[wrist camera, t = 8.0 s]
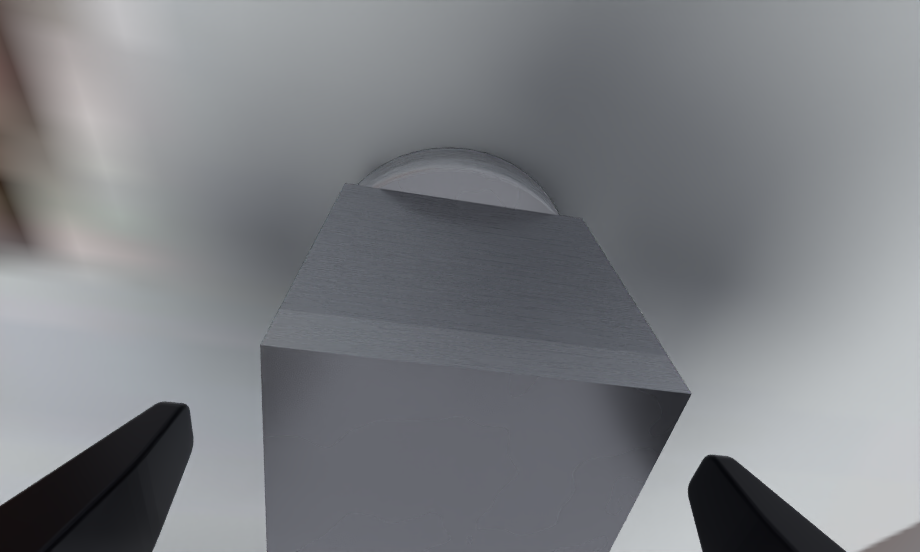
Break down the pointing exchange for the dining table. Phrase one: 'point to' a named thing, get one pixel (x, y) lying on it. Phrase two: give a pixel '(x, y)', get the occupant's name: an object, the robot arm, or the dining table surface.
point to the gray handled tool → (462, 179)
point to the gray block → (458, 384)
